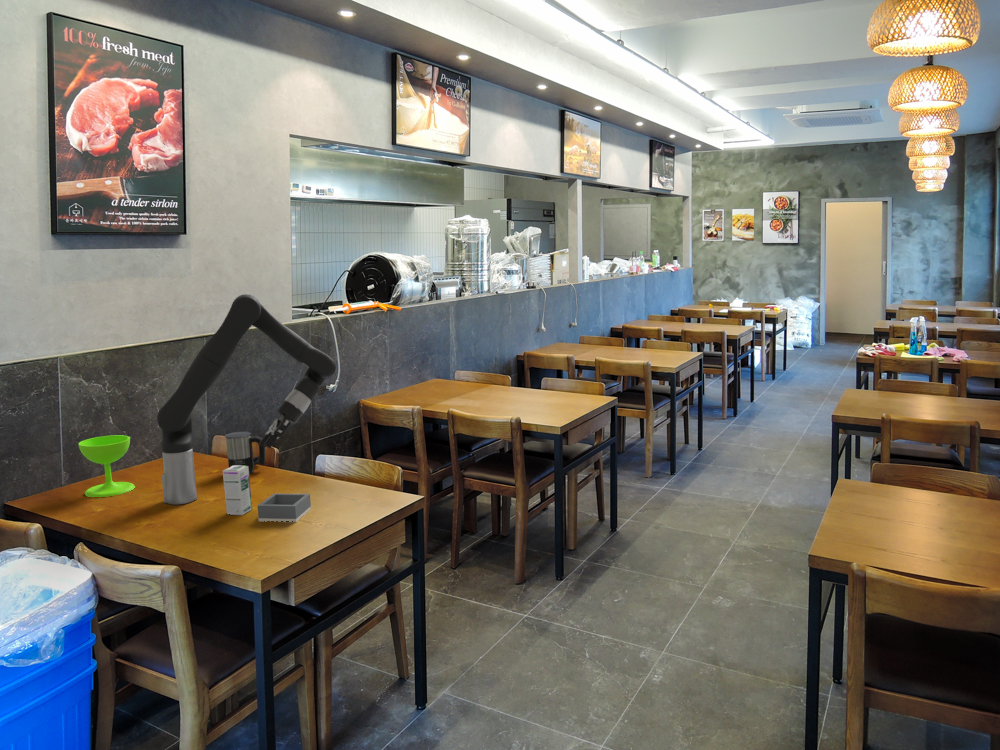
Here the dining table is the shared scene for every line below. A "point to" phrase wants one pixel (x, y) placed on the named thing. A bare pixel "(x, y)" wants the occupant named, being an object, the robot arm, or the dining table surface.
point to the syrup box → (237, 490)
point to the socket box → (284, 507)
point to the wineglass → (106, 462)
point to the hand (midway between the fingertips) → (264, 446)
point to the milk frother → (243, 450)
